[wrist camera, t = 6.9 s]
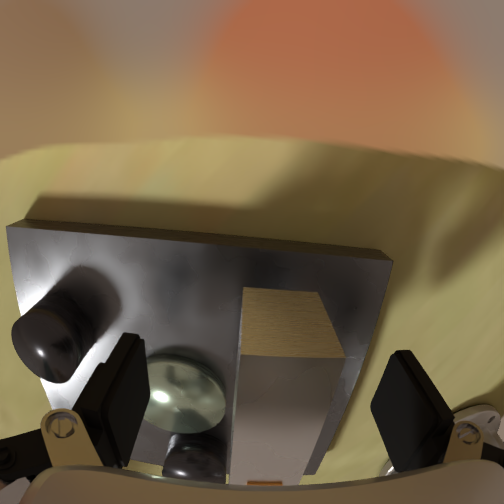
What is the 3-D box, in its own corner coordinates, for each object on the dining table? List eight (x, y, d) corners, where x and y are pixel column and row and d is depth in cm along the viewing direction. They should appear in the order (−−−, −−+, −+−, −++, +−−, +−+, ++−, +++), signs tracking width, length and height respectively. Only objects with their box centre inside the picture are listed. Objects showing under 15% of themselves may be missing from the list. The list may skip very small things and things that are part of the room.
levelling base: (380, 250, 14) (419, 284, 10) (312, 458, 19) (319, 501, 15) (23, 219, 13) (-26, 240, 9) (74, 427, 18) (56, 463, 14)
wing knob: (244, 260, 12) (240, 357, 6) (305, 265, 12) (347, 360, 7) (233, 393, 14) (227, 497, 9) (281, 395, 14) (293, 497, 9)
